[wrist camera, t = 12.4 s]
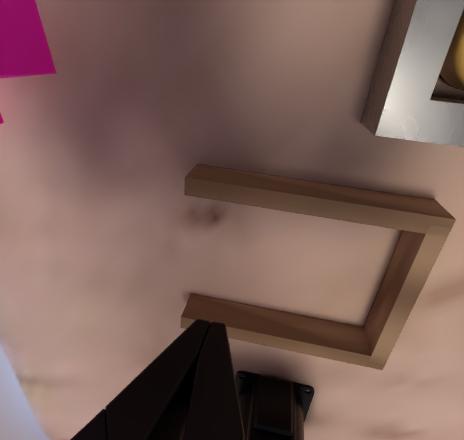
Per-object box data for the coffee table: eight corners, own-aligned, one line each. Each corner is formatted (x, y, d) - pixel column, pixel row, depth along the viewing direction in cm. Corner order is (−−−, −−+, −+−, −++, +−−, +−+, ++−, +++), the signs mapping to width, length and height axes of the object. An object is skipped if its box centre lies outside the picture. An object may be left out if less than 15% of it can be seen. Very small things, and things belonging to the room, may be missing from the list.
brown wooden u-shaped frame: (373, 340, 22) (382, 370, 20) (190, 303, 24) (180, 327, 22) (435, 200, 17) (456, 219, 15) (197, 164, 19) (184, 177, 16)
